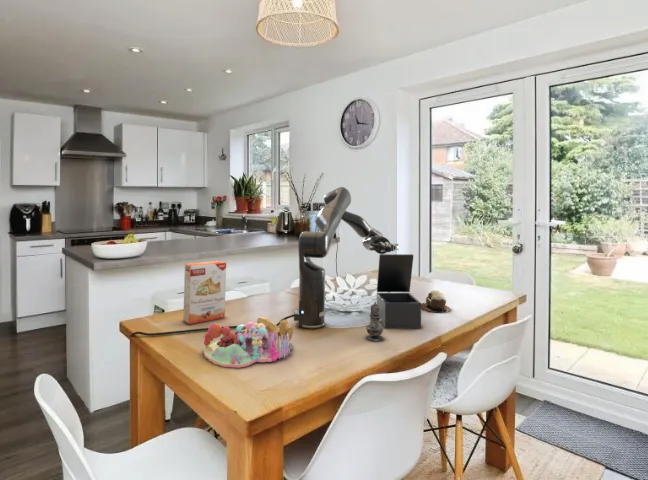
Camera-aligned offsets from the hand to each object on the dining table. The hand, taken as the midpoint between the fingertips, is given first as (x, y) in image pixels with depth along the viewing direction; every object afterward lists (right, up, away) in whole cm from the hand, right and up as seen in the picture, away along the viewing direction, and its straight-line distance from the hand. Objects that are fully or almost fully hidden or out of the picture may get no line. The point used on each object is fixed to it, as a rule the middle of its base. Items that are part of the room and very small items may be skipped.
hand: (388, 249), depth 167 cm
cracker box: (-70, -24, -16) cm, 76 cm away
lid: (+1, -8, -10) cm, 13 cm away
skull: (+20, -25, +3) cm, 32 cm away
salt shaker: (-10, -25, -33) cm, 42 cm away
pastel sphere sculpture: (-49, -24, -45) cm, 71 cm away
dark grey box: (+1, -25, -15) cm, 29 cm away
